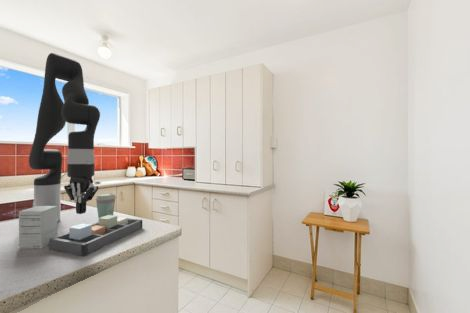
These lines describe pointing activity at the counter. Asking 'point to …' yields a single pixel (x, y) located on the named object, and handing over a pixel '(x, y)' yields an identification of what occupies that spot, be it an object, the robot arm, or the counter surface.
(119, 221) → the cream cube
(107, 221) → the pale green cube
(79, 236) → the pale blue cube
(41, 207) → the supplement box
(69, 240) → the grey compartment tray
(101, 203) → the coffee cup
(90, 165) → the robot arm
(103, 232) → the orange cube
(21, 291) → the counter surface
